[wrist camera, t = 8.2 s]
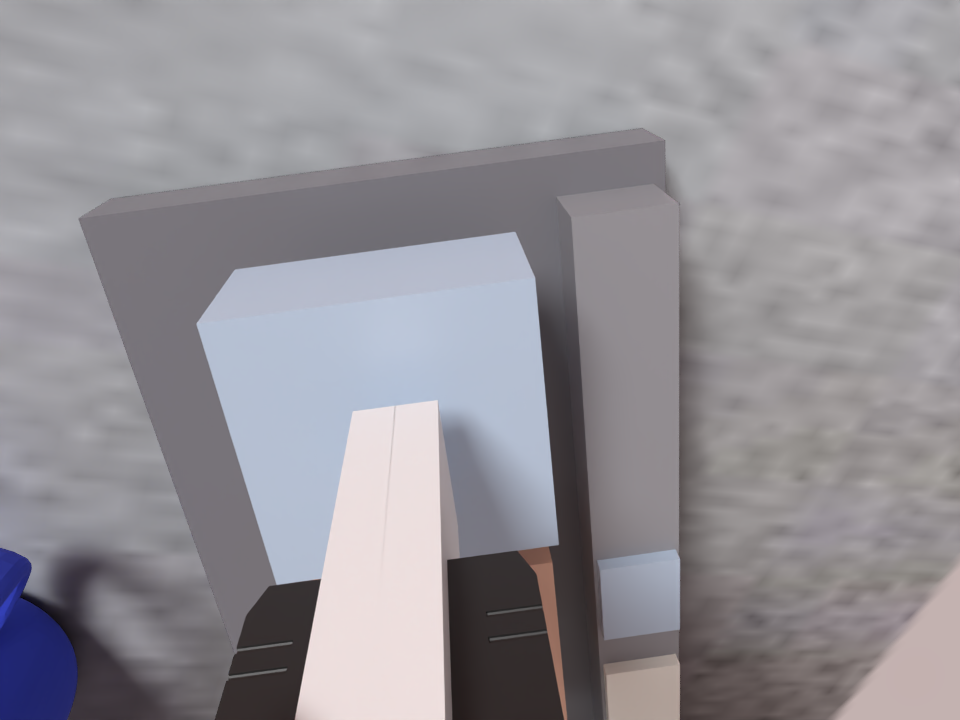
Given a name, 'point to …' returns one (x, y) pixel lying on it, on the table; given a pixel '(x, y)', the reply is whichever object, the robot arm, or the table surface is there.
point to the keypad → (565, 354)
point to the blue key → (386, 385)
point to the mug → (31, 652)
